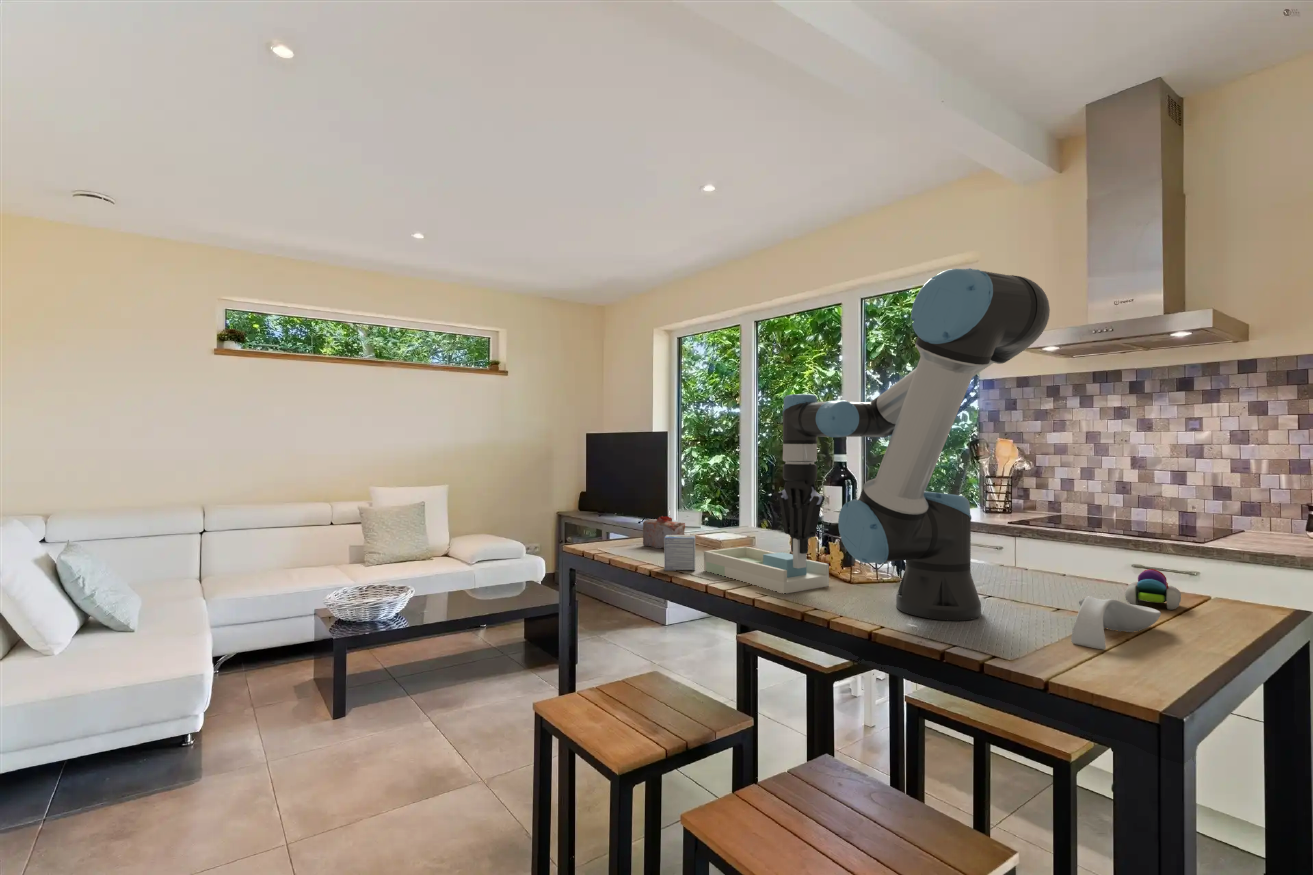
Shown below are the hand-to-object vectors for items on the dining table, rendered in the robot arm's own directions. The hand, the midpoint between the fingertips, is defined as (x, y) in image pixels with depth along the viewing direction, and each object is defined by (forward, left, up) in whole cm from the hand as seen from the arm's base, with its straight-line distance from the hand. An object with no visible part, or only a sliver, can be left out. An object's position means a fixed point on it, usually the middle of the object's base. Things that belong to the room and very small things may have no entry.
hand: (799, 567), depth 142 cm
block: (+5, 0, -2) cm, 5 cm away
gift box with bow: (+63, -4, -5) cm, 63 cm away
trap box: (+12, 0, -5) cm, 13 cm away
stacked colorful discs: (-49, -50, -5) cm, 70 cm away
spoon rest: (-53, -21, -5) cm, 57 cm away
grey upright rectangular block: (+32, +11, -5) cm, 34 cm away
